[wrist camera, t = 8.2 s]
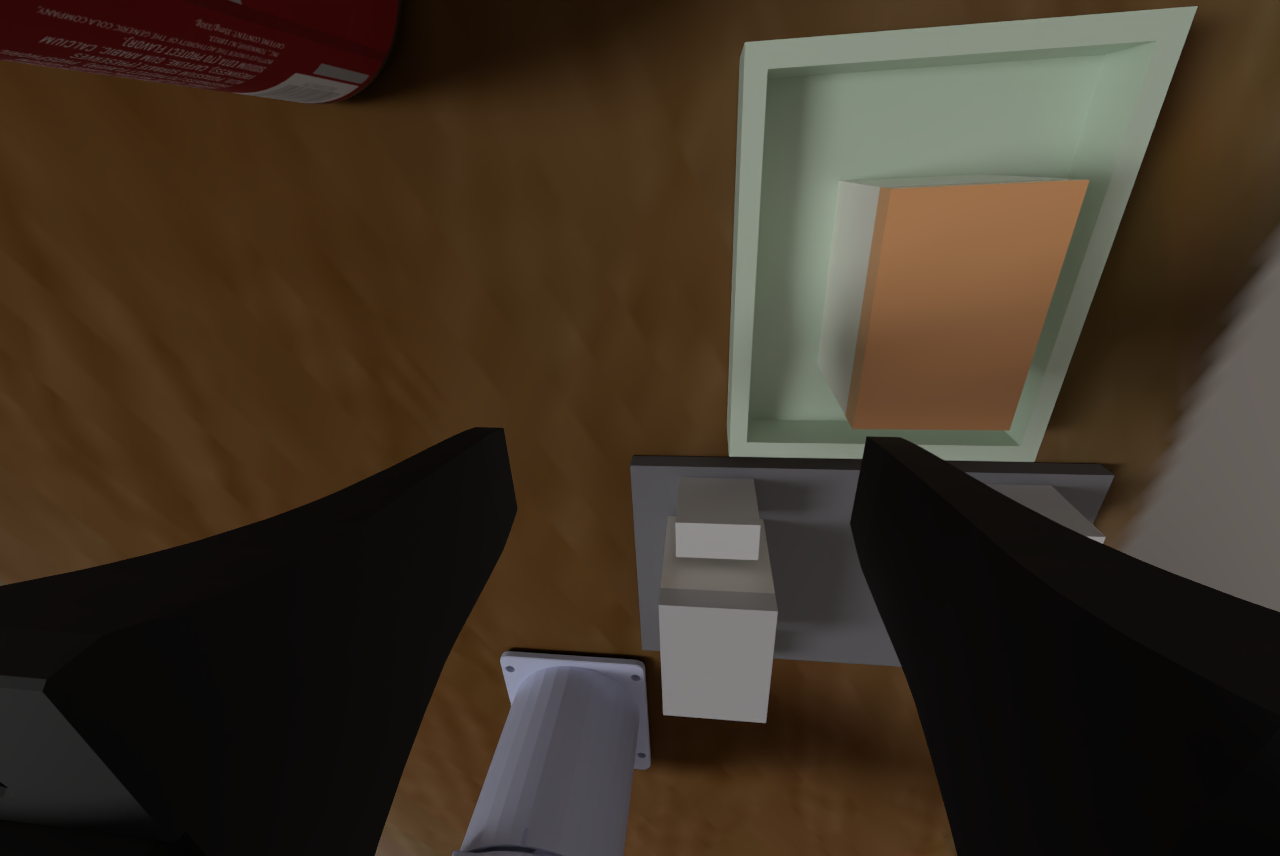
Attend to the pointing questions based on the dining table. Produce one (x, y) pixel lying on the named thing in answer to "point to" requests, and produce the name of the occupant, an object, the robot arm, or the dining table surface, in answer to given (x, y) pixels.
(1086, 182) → the block
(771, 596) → the block
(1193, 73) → the dining table surface
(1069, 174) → the tray
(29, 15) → the soda can
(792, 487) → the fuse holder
